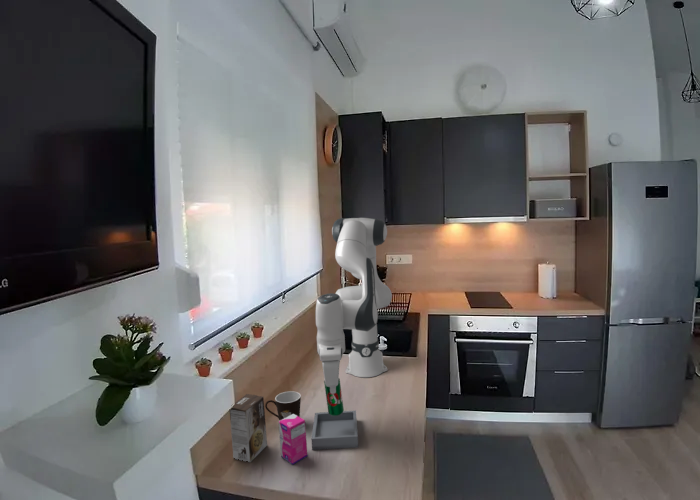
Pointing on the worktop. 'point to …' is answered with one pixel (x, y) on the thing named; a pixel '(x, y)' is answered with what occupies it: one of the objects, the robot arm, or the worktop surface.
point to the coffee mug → (286, 404)
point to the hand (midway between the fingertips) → (333, 388)
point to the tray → (334, 431)
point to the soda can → (334, 400)
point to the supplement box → (293, 438)
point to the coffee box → (248, 427)
